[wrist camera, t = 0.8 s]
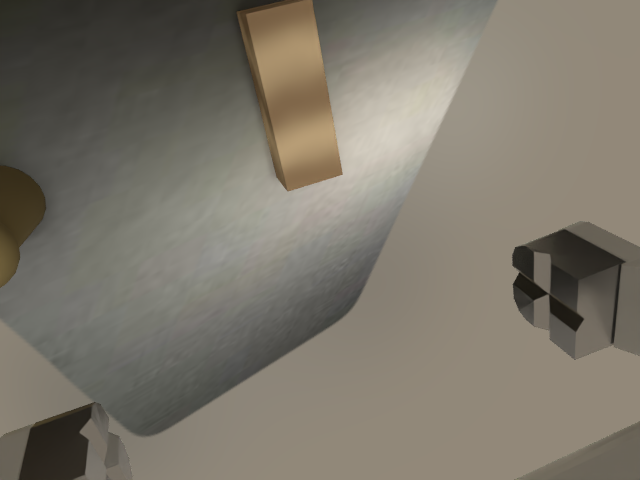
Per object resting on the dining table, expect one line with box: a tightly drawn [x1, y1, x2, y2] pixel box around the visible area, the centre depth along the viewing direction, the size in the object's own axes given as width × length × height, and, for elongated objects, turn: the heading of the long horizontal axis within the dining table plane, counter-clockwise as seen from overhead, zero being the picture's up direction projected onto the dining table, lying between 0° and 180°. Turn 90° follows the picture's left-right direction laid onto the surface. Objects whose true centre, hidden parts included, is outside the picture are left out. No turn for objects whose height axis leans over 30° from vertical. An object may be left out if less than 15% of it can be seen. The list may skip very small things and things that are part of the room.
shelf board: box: [237, 0, 343, 191], centre depth 43 cm, size 14×5×4 cm, turn 11°
